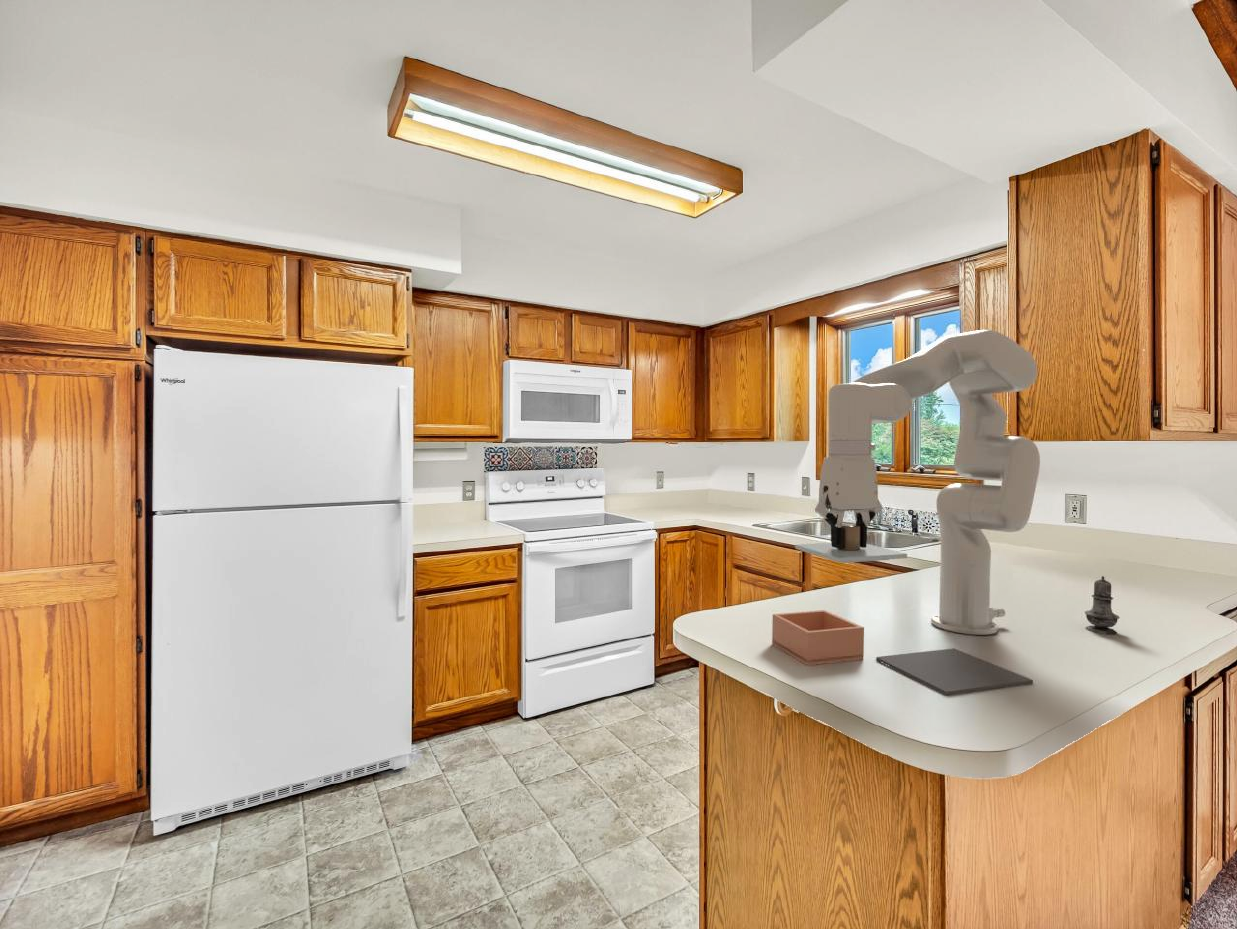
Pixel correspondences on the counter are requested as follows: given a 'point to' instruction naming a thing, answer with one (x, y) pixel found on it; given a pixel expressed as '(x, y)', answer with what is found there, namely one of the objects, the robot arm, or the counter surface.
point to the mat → (953, 671)
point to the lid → (851, 549)
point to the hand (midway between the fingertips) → (848, 546)
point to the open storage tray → (818, 637)
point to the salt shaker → (1102, 609)
